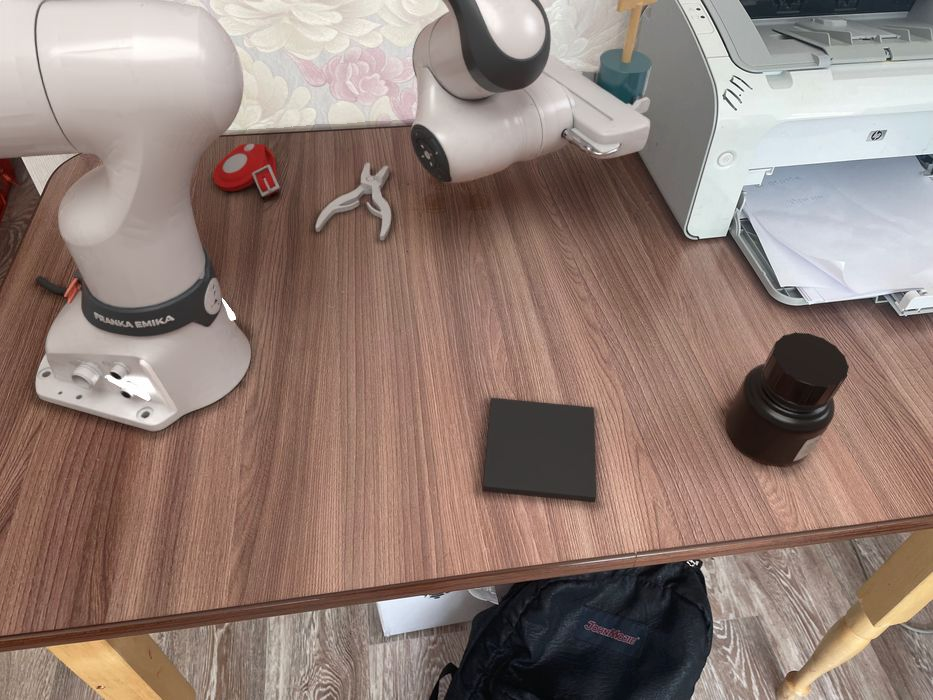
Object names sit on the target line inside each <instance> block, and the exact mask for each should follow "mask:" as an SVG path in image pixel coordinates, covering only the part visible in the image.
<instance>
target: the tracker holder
mask: <svg viewBox="0 0 933 700" xmlns="http://www.w3.org/2000/svg"><path fill="white" fill-rule="evenodd" d="M212 178H213V181H214V184H215V186H217V187H218V188H219V189H220V190H222V191H224V192H236V191H240V190H242V189H245V188H247V187H249V186H250V185H252V184H254V183H255V184H256V186H257V189H258V191H259V193H260V196H261V197H262V198H264V197H270V196H272V195H274V194H276V193H278V192H279V191H280V188H281V187H280V185H279V182H278V173H277V163H276V159H275V156H274V153H273V152H272V151H271V150H270V149H269V148H268V147H267V145H266V144H264V143H242V144H240V145H238V146H236V147H235V148H234V149H232V150H231V151H230V152H229V153H228V154H227V155H225V156H224V157H223V158H222V159H221V160H220V161H219V162H218V163H217V164H216V166H215V168H214V170H213V173H212Z"/></svg>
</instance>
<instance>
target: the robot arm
mask: <svg viewBox="0 0 933 700" xmlns="http://www.w3.org/2000/svg"><path fill="white" fill-rule="evenodd" d="M441 1H442V2H443V4H444V6H446V8H447V9H448V11H447V12H445V13H443V14H442V15H440V16H439V17H437V18H436V19H435V20H433V21H432V22H430V23H429V24H427V25H426V26H425V27H423V28H422V29H421V30H420V32H419V33H418V35H417V37H416V38H415V41H414V44H413V48H412V57H411V58H412V61H411V62H412V68H413V73H414V74H415V76H414V77H415V78H416V89H417V90H416V91H417V92H416V93H417V103H416V113H415V115H414V116H415V117H414V120H413V122H412V125H411V128H410V140H411V145H412V149H413V152H414V154H415V156H416V159H417V160H418V162H419V163H420V165H421V167H422V168H423V169H424V170H425V171H426V172H427V173H428V174H429V175H430V176H431V177H433V178H434V179H435V180H438V181H439V182H442V183H446V184H461V183H467V182H470V181H474V180H479V179H482V178H485V177H487V176H491V175H493V174H496V173H499V172H502V171H504V170H505V169H507V168H508V167H509V166H510V165H512V164H514V163H519V162H529V161H532V160H534V159H537V158H540V157H543V156H546V155H548V154H551V153H554V152H556V151H560V150H561V149H563V148H565V147H566V146H567V144H568V143H570V144H571V145H572V146H574V147H576V148H577V149H579V151H580V152H582V153H583V154H585V155H587V156H591V157H592V158H595V159H599V160H608V159H614V158H620V157H623V156H627V155H630V154H634V153H637V152H639V151H642V150H644V148H645V146H646V145H647V141H648V138H649V135H650V130H651V120H650V119H649V118H648V117H646V116H645V115H644V114H643V113H646V112H647V111H648V110H649V108H650V104H651V98H649V97H648V96H645V95H642V94H639V95H636V96H633V97H632V104H629V103H628V104H625V103H624V102H622V101H621V100H619V99H618V98H616V97H615V96H613V95H612V94H610V93H609V92H607V91H606V90H604V89H603V88H601V87H600V86H598V85H597V84H595V81H596V76H597V70H598V67H597V68H594V69H588V68H573V67H571V66H570V65H569V64H567V63H565V62H564V61H562V60H561V59H559V58H558V57H556V56H555V55H553V54H551V53H550V52H551V43H552V42H551V41H552V40H551V39H552V36H551V35H552V34H551V26H550V21H549V18H548V15H547V12H546V10H545V8H544V6H543V4H542V3H541V1H540V0H441ZM244 82H245V81H244V71H243V66H242V61H241V58H240V54H239V52H238V50H237V48H236V45H235V43H234V42H233V40H232V39H231V36H230V35H229V33H228V32H227V30H226V29H225V28H224V27H223V25H222V24H221V23H220V21H219V20H218V19H216V17H214V15H212V13H210V12H209V11H208V10H206V9H205V8H203V7H202V6H197V5H193V4H192V5H191V4H187V3H183V2H182V3H181V2H175V1H169V0H0V160H1V159H13V158H25V157H26V158H30V157H40V156H41V157H42V156H43V157H44V156H57V155H71V154H83V155H94V156H96V157H97V158H99V159H100V161H101V162H102V163H101V164H99V165H98V166H95V167H94V168H92V169H91V170H89V171H87V172H86V173H85V174H83V175H82V176H81V177H79V178H78V179H77V180H75V182H74V183H73V184H72V185H71V186H70V187H69V189H68V190H67V191H66V192H65V193H64V195H63V197H62V199H61V200H60V203H59V207H58V212H57V225H58V231H59V234H60V237H62V240H63V242H64V244H65V246H66V248H67V249H68V252H69V253H70V255H71V257H72V260H73V261H74V263H75V265H76V267H77V269H76V270H75V272H74V273H73V280H72V282H71V284H70V285H69V286H68V287H67V286H66V287H61V286H58V285H55V284H54V283H52V282H51V281H49V280H48V279H46V278H45V277H44V276H42V275H38V276H36V277H35V282H36V284H37V283H38V284H39V285H40V286H42V287H43V288H45V289H46V290H48V291H49V292H52V293H53V294H56V295H59V296H64V298H67V297H68V298H67V302H66V303H65V304H64V306H63V307H62V308H61V309H60V311H59V312H58V314H57V315H56V316H55V318H54V320H53V322H52V323H51V326H50V328H49V330H48V332H47V336H46V339H45V345H44V352H45V353H44V355H43V357H42V360H41V361H40V363H39V366H38V369H37V372H36V376H35V383H34V386H35V391H36V394H37V396H38V399H40V400H41V401H44V402H47V403H50V404H53V405H57V406H61V407H63V408H67V409H71V410H74V411H79V412H82V413H85V414H89V415H93V416H96V417H100V418H103V419H106V420H110V421H113V422H117V423H121V424H124V425H127V426H131V427H135V428H138V429H141V430H144V431H149V432H160V431H162V430H164V429H166V428H167V427H169V426H171V425H172V424H173V423H175V422H177V421H178V420H179V419H180V418H181V417H183V416H185V415H187V414H189V413H191V412H195V411H197V410H200V409H203V408H205V407H207V406H210V405H211V404H213V403H216V402H217V401H219V400H220V399H222V398H223V397H225V396H226V395H228V394H229V393H230V392H232V391H233V390H234V389H235V388H236V386H238V384H239V383H240V382H241V381H242V380H243V378H244V376H245V375H246V373H247V372H248V369H249V366H250V363H251V358H252V350H251V349H252V348H251V344H250V342H249V339H248V337H247V336H246V334H245V333H244V332H243V331H242V329H240V327H239V326H238V324H237V323H236V321H235V320H236V319H237V318H236V315H235V313H234V311H232V309H231V308H230V307H229V305H228V304H227V302H226V301H225V300H224V299H223V296H222V290H221V287H220V282H219V279H218V276H217V273H216V270H215V267H214V263H213V262H212V259H211V256H210V253H209V251H208V249H207V248H206V246H205V245H203V243H202V241H201V238H200V236H199V232H198V228H197V224H196V220H195V216H194V211H193V205H192V199H191V184H192V178H193V174H194V171H195V169H196V166H197V164H198V162H199V161H200V159H201V157H202V156H203V154H204V153H205V152H206V151H207V149H208V148H209V147H210V146H211V145H212V144H213V143H214V142H215V141H216V140H217V139H219V138H220V137H222V136H223V135H224V134H225V133H226V132H227V131H228V129H229V128H230V127H231V125H232V124H233V122H234V121H235V119H236V117H237V116H238V113H239V111H240V109H241V105H242V101H243V97H244V87H245V83H244Z"/></svg>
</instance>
